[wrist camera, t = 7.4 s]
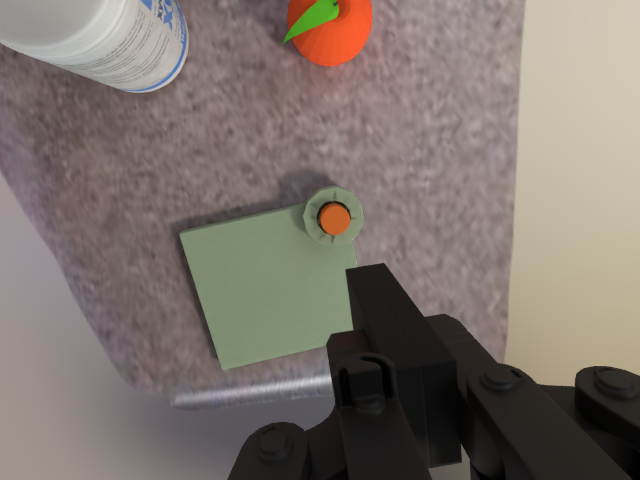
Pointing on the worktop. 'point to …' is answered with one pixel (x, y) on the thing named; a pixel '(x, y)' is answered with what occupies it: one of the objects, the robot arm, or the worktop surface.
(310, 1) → the clementine
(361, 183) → the worktop surface
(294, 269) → the scale
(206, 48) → the worktop surface
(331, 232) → the tare button
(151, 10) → the supplement tub
